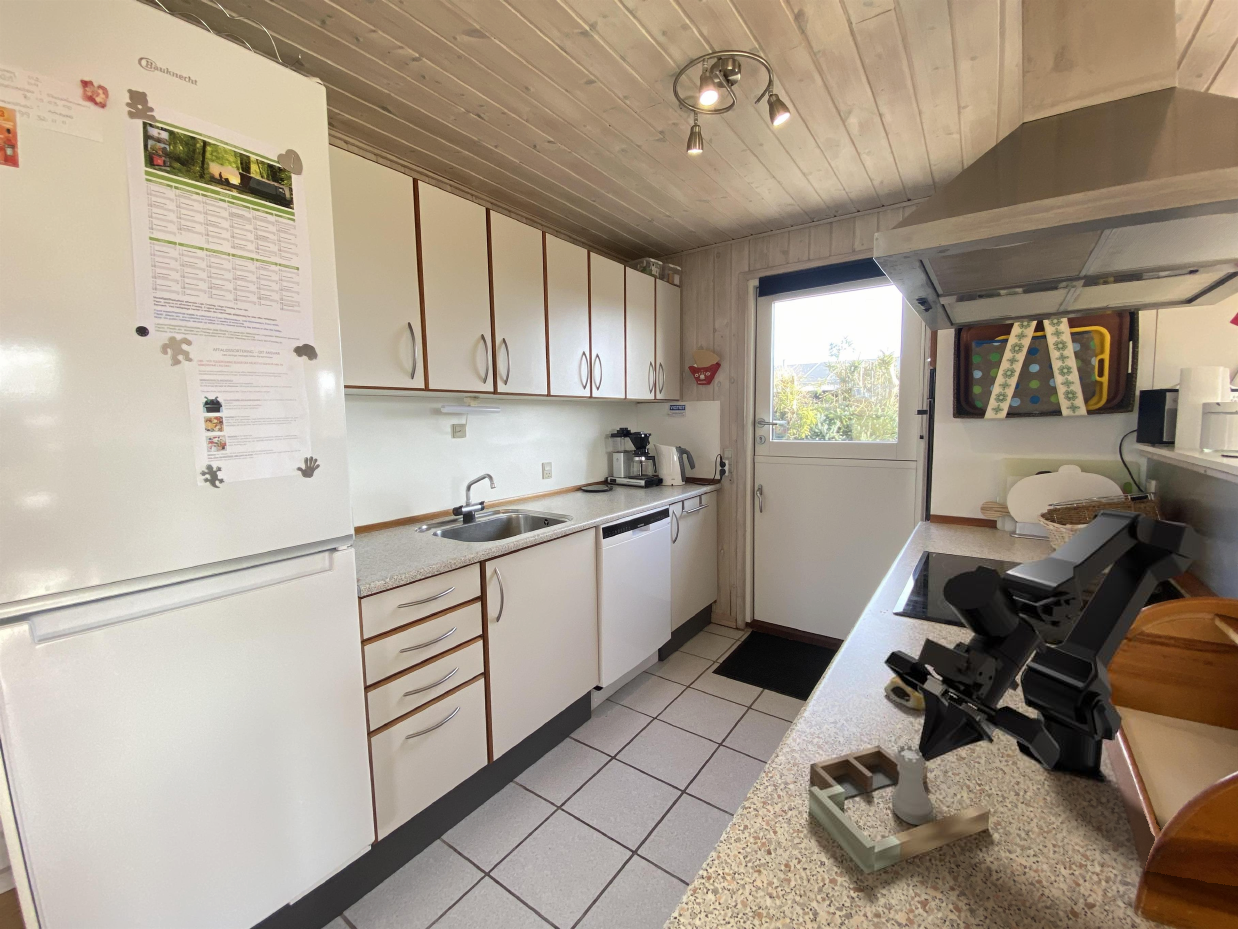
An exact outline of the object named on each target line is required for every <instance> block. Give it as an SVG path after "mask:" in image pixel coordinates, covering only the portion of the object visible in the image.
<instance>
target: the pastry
mask: <svg viewBox="0 0 1238 929" xmlns="http://www.w3.org/2000/svg"><path fill="white" fill-rule="evenodd" d="M883 690H884V692H885V694H886V696H887V697H888V696H889V699H891V700H892V699H893V700H892V701H894V700H895V701H894V702H896V701H897V703H899V704H901V703H902V705H903V706H906V707H908V708H910V709H913V710H917V711H918V710H920V711H921V710H924V711H925V702H924V697H923V696H922V695H920V694H919V693H917V692H915V691H914V690H912V689H910V688H908V687H907V686H906V685H904V684H903V683H902V682H901V681H900V680H899V679H898V678H897V677H896V675H895V676H893V677H892V678H891V679H890V681H889V682H888V683H887V685H886V686H884V689H883Z"/></svg>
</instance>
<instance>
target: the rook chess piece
mask: <svg viewBox="0 0 1238 929" xmlns="http://www.w3.org/2000/svg"><path fill="white" fill-rule="evenodd" d="M918 748H919V747H915V748H914V749H913V747H912V745H910V744H906V747H905V745H904V744H902V745H899V748H897V750H896V752H895V753H894V757H895V759H896V761H897V762H898V763H899V765H898V766H897V770H898V771H899V782H898V784H897V785H896V786H895V788H894V790H893V791H892V794H891V808H892V809H893V811H894V813H895V814H896V815H897V816H898V817H899V818H900V819H901V820H902V821H904V822H906V823H908V824H910V825H915V826H921V825H924V824H927V823H930V822H932V821H933V819H934V817H935V816H934V807H933V802H932V800H931V799H930V797H929V795H928V793H927V792H926V789H925V788H924V787H925V785H924V782H923V781H922V778H923V776H924V771H923V770H922V768H924V767H925V765H927V761H925V759H924V758H923V756H922V753H920V750H919V749H918Z"/></svg>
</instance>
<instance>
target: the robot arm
mask: <svg viewBox="0 0 1238 929" xmlns="http://www.w3.org/2000/svg"><path fill="white" fill-rule="evenodd" d="M1204 544H1205V542H1204V537H1203V536H1202V535H1201V534H1200V533H1199V532H1197V531H1195V528H1194V527H1193V526H1192V525H1191V524H1188V523H1183V522H1177V521H1170V520H1163V519H1162V520H1161V519H1157V518H1153V517H1151V516H1149V515H1146V514H1144V513H1142V512H1137V511H1128V510H1123V509H1114V508H1105V509H1099V510H1097V511H1096V512H1095V513H1094V515H1093V518H1092V521H1090V522H1089V523H1088V524H1087V525H1086V526H1084V527H1083V528H1082V529H1080V530H1079V531H1078V532H1077V533H1075V535H1073V536H1072V537H1071V538H1069V539H1068V540H1067V541H1066V542H1065V543H1064V544H1062V545H1061V546H1059V547H1058V548H1057V549H1056V550H1055V551H1053V552H1052V553H1051V554H1050V555H1049V556H1046V557H1045V558H1043V559H1039V560H1035V561H1027V562H1022V563H1021V564H1018V565H1017V566H1015V567H1013V568H1012V569H1009V570H1007V571H1006V572H1005V573H1004V574H1003V575H1002V576H1001V574H1000V572H999V571H998V570H997V569H996V568H993V567H989V566H986V565H982V564H979V565H978V566H977V567H976V569H975V570H971V571H965V572H961V573H959V574H956V575H955V576H953V577H952V578H948V580H947V581H946V582H945V584H944V586H943V590H942V594H943V598H944V599H945V602H946V603H947V604H948V605H949V606H950V607H951V609H952V610H953V611H954V613H955V614H956V615H957V616H958V618H959V619H960V620H961V622H962V623H963V624H964V625H965V626H966V628H967V629H968V630H969V631H970V632H972V633H973V635H972V637H971V638H970V639H969V641H968V642H967V643H965V642H962V641H959V642H957V643H956V644H954V646H953V647H952V648H951V647H949V646H947V645H945V644H942V643H940V642H937V641H935V640H933V639H931V638H928V637H926V638H925V641H924V643H923V645H922V648H921V650H920V652H919V655H918V658H916V657H914V656H912V655H909V654H908V653H906V652H904V651H902V650H893V651H891V652H890V654H889V655H888V656H886V659H885V660H884V661H883V663H884V664H885V665H886V667H887V668H888V669H889V670H890V671H891V672H892V673H893V675H895V676H896V677H897V678H898V679H899V680H900V681H901V682H902V683H903V684H904V685H906V686H907V687H908V688H910V689H912V690H914V691H915V692H917V693H919V694H920V695H922V696H923V697H924V702H925V709H924V717H923V718H924V719H923V725H922V729H921V734H920V738H919V744H918V747H917V748H918V749H919V750H920V753H922V756H923V758H924V759H925V761H926V763H927V762H930V761H932V760H935V759H937V758H940V757H942V756H944V755H946V754H948V753H951V752H953V751H956V750H958V749H960V748H963V747H966V746H970V745H973V744H977V743H981V742H987V743H989V744H993V743H994V741H995V740H994V738H993V737H992V736H993V735H994V733H996V731H997V730H998V731H1000V732H1002V733H1003V734H1005V735H1007V736H1009V737H1011V738H1012V739H1014V740H1016V741H1015V742H1016V745H1017V748H1018V750H1019V753H1021V755H1023V756H1025V757H1026V758H1027V759H1030V760H1031V761H1033V762H1034V763H1037V764H1038V765H1040V766H1041V767H1043V768H1045V769H1047V770H1050V771H1051V770H1053V771H1055V772H1060V773H1064V774H1068V775H1073V776H1075V777H1081V778H1085V779H1090V780H1094V781H1099V782H1103V783H1105V782H1106V781H1107V777H1106V776H1105V774H1104V773H1103V771H1102V769H1101V766H1102V755H1103V745H1104V744H1103V743H1104V740H1107V741H1111V742H1112V741H1115V739H1116V734H1118V733H1119V730H1120V729H1121V724H1122V720H1123V718H1122V716H1121V715H1120V714H1119V713H1120V712H1118V711H1117V710H1116V708H1115V706H1113V704H1112V703H1111V701H1110V698H1111V695H1112V694H1113V692H1112V691H1113V690H1112V687H1111V682H1110V678H1109V673H1108V670H1107V668H1108V667H1109V665H1110V663H1111V661H1112V659H1113V658H1114V656H1115V655H1116V653H1117V652H1118V649H1119V648H1120V646H1121V644H1122V643H1123V641H1124V639H1125V638H1126V636H1127V635H1128V633H1129V632H1130V630H1131V628H1132V626H1133V625H1134V624H1135V622H1136V620H1137V618H1138V617H1139V615H1140V613H1141V612H1142V610H1143V608H1144V607H1145V605H1146V603H1147V602H1148V599H1149V598H1150V596H1151V595H1152V594H1153V592H1154V590H1155V588H1156V587H1157V585H1158V584H1160V583H1162V582H1164V581H1168V580H1169V579H1172V578H1175V577H1178V576H1181V575H1182V574H1184V573H1185V572H1186V570H1188V567H1190V565H1191V564H1192V563H1193V561H1194V560H1196V559H1197V558H1199V557H1200V556H1201V555H1202V552H1203V550H1204ZM1109 567H1110V568H1109ZM1107 569H1108V571H1107V572H1106V574H1105V576H1103V578H1102V581H1101V582H1100V584H1099V586H1098V587H1097V589H1096V590H1095V592H1094V593H1093V595H1092V597H1091V598H1090V600H1089V601H1088V603H1087V604H1086V606H1085V608H1084V609H1083V611H1082V612H1081V614H1080V616H1079V617H1078V619H1077V621H1076V622H1075V623H1074V625H1073V627H1072V629H1071V630H1070V632H1069V633H1068V635H1067V636H1066V638H1065V640H1064V641H1063V642H1062V643H1061V644H1058V645H1055V646H1051V645H1049V644H1046V643H1045V639H1044V637H1043V635H1044V634H1043V630H1041V629H1038V628H1035V627H1034V626H1033V624H1032V623H1031V622H1030V621H1029V620H1032V621H1036V622H1037V623H1041V624H1044V625H1046V626H1048V627H1053V628H1059V629H1060V628H1062V627H1064V626H1065V625H1067V624H1069V623H1070V622H1071V621H1072V620H1074V618H1075V617H1076V616H1077V614H1078V612H1079V610H1081V608H1082V607H1083V606H1084V602H1083V600H1084V599H1083V594H1082V592H1083V590H1084V589H1085V588H1086V587H1087V586H1088V585H1089V584H1090V583H1091V582H1093V581H1094V580H1095V579H1096V578H1097V577H1099V575H1101V574H1102V573H1104V571H1105V570H1107ZM1027 619H1029V620H1027ZM1033 654H1034V655H1033ZM1032 655H1033V656H1032ZM1031 656H1032V657H1031ZM1030 658H1031V659H1030ZM926 665H927V666H929V667H931V668H932V671H933V672H934V673H935V674H936V676H939V677H940V678H941V679H939V678H937V677H935V676H934V675H933V673H932V672H931V671H930V670H929V669H928V667H927V666H926ZM1024 667H1025V668H1024ZM1023 668H1024V669H1023ZM1022 669H1023V671H1022ZM1021 671H1022V672H1021ZM1020 672H1021V675H1020V683H1019V682H1018V681H1017V680H1016V678H1017V677H1018V675H1019V674H1020ZM1020 686H1021V690H1022V691H1021V692H1022V695H1023V699H1024V705H1025V706H1026V707H1028V708H1031V709H1034V710H1036V711H1037V713H1036V717H1031V716H1028V715H1026V714H1025V713H1023V712H1021V711H1019V710H1017V709H1016V708H1013V707H1010V706H1009V705H1004V706H1000V707H998V704H999V702H1001V701H1002V698H1003V697H1004V695H1005V694H1006V693H1007V691H1008V690H1011V691H1013V692H1016V691H1017V690H1018V689H1019V687H1020Z"/></svg>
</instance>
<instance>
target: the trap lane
mask: <svg viewBox="0 0 1238 929" xmlns="http://www.w3.org/2000/svg"><path fill="white" fill-rule="evenodd" d="M898 765H899V763H898V762H897V761H896V759H895V755H893V754H891V753H890V752H889V751H888V750H886V749H885V748H883V747H882V746H880V744H879V745H875V746H871V747H867V748H863V749H860V750H857V751H854V752H853V751H852V752H849V753H847V754H842V755H839V756H835V757H832V758H828V759H824V760H821V761H816V762H814V763H810V767H809V780H810V782H811V783H812V784H813V785H814V786H811V787H809V789H808V791H809V792H808V812H809V813H810V814H811V816H813V817H814V818H815V820H816V821H817V822H818V823H819V824H820V825H821V826H822V827H823V828H824V830H825V831H827V833H829V835H830V836H831V837H832V838H833V839H834V840H835V842H836V843H838V845H839V846H840V847H841V848H842V849H843V850H844V851H845V853H846V854H848V856H849V857H851V859H852V860H853V861H854V862H855V863H856V865H858V867H859V868H860V869H861V870H862V871H863V872H864V873H865V874H866V875H868V874H871V873H874V872H876V871H879V870H881V869H883V868H886V867H889V866H891V865H895V864H897V863H899V862H902V861H905V860H908V859H910V858H913V857H916V856H918V855H921V854H924V853H926V852H929V851H931V850H933V849H937V848H939V847H942V846H944V845H948V844H949V843H952V842H955V841H958V840H961V839H963V838H966V837H969V836H972V835H974V834H977V833H980V832H982V831H984V830H987V829H989V824H990V810H989V809H988V808H987V807H986V806H984V805H983V804H978V805H976V806H973V807H970V808H967V809H964V810H961V811H958V812H955V813H953V814H950V815H947V816H944V817H941V818H939V819H936V820H932V821H931V822H929V823H927V824H924V825H917V826H916V827H913V828H910V829H908V830H904V831H902V832H899V833H896V834H894V835H890V836H888V837H885V838H883V839H879V840H876V841H873V842H872V840H871V839H870V838H869V837H868V836H867V835H866V833H864V832H863V831H861V829H860V828H859V827H858V826H856V824H855V823H854V822H853V821H852V820H850V818H849V817H848V816H847V815H846V814H844V812H843V811H842V809H844V808H845V800H846V799H849V798H853V797H855V796H858V795H863V794H865V793H870V792H873V791H875V790H877V789H881V788H884V787H887V786H888V787H889V786H891V785H894V784H897V783H898V782H899V771H898V770H897V766H898ZM928 767H929V766H928V764H926V765H925V767H924V768H922V770H923V771H924V776H923V778H922V781H923V783H926V782H927V781H928Z"/></svg>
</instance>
